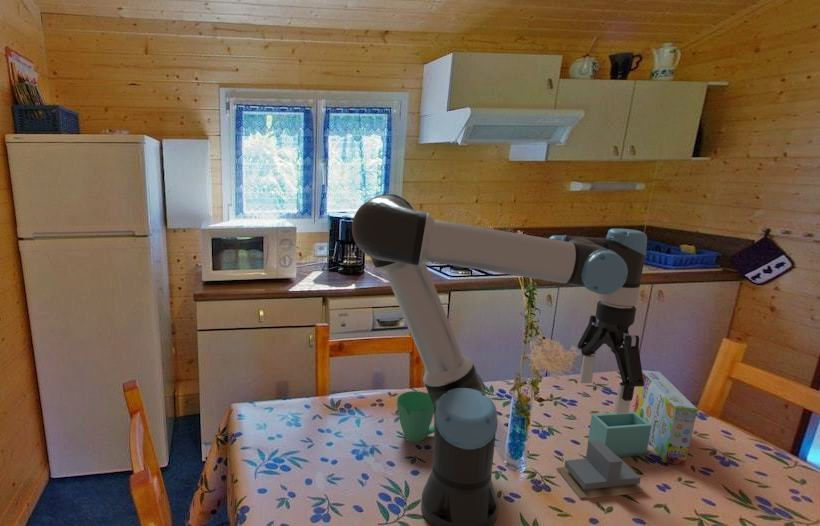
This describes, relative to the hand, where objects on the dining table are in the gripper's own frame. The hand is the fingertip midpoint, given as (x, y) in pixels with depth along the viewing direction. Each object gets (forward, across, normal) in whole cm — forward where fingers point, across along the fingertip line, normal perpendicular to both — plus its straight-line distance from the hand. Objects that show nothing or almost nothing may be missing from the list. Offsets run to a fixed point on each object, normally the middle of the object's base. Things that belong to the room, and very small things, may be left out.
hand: (602, 396), depth 102 cm
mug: (+20, +20, +34) cm, 44 cm away
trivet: (+20, -2, -1) cm, 20 cm away
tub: (+20, +9, -13) cm, 25 cm away
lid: (+18, -2, -2) cm, 18 cm away
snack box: (+20, +12, -26) cm, 35 cm away
